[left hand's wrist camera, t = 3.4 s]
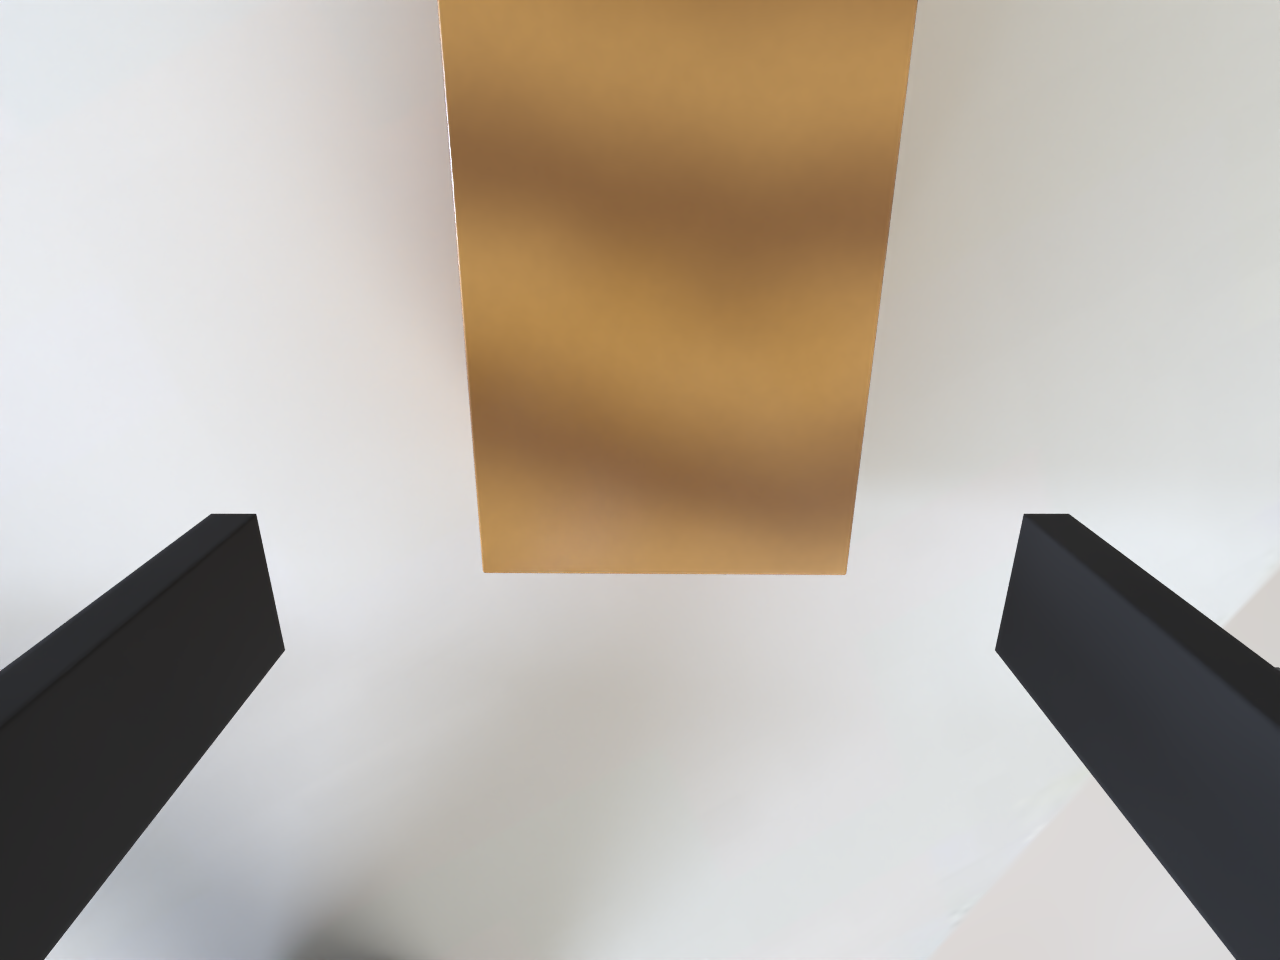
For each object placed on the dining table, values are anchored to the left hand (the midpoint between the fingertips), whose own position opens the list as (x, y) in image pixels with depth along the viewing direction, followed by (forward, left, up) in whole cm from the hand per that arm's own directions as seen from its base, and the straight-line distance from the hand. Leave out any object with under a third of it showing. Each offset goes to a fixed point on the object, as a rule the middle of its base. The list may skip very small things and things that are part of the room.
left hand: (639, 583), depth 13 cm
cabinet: (+6, -1, -18) cm, 19 cm away
